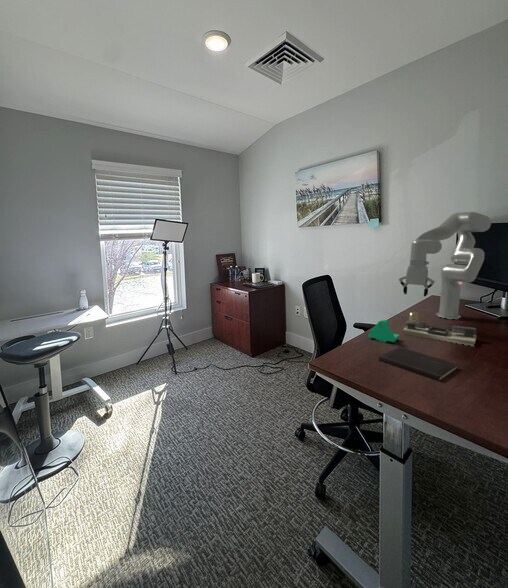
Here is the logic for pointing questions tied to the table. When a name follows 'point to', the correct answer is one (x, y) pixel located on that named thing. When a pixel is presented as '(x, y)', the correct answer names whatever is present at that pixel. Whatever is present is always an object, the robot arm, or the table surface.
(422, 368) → the hardcover book
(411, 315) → the yellow round-topped cylinder
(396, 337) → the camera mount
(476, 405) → the table surface
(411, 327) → the stand
